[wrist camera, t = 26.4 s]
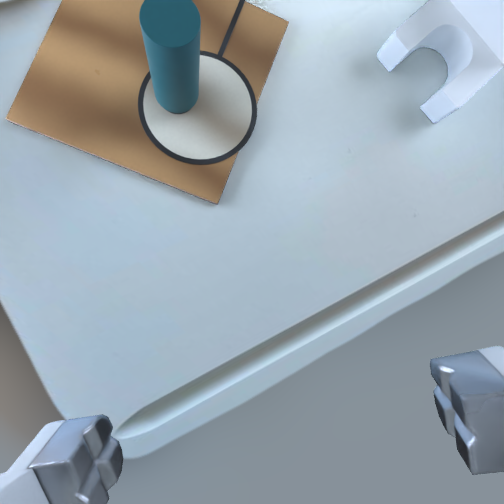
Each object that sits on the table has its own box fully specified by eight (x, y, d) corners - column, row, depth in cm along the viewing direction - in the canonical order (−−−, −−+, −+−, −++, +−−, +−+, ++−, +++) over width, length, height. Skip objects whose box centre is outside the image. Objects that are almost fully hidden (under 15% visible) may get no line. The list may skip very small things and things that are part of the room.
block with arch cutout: (481, -39, 43) (578, -147, 32) (536, 27, 44) (651, -57, 33) (374, 54, 40) (441, -30, 29) (434, 124, 41) (522, 68, 30)
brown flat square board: (223, 207, 37) (224, 206, 36) (8, 121, 34) (4, 118, 34) (298, 14, 39) (300, 9, 39) (103, -78, 37) (101, -85, 36)
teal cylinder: (189, 124, 36) (187, 57, 25) (148, 107, 36) (129, 31, 25) (204, 86, 37) (209, 5, 26) (164, 69, 36) (152, -21, 25)
